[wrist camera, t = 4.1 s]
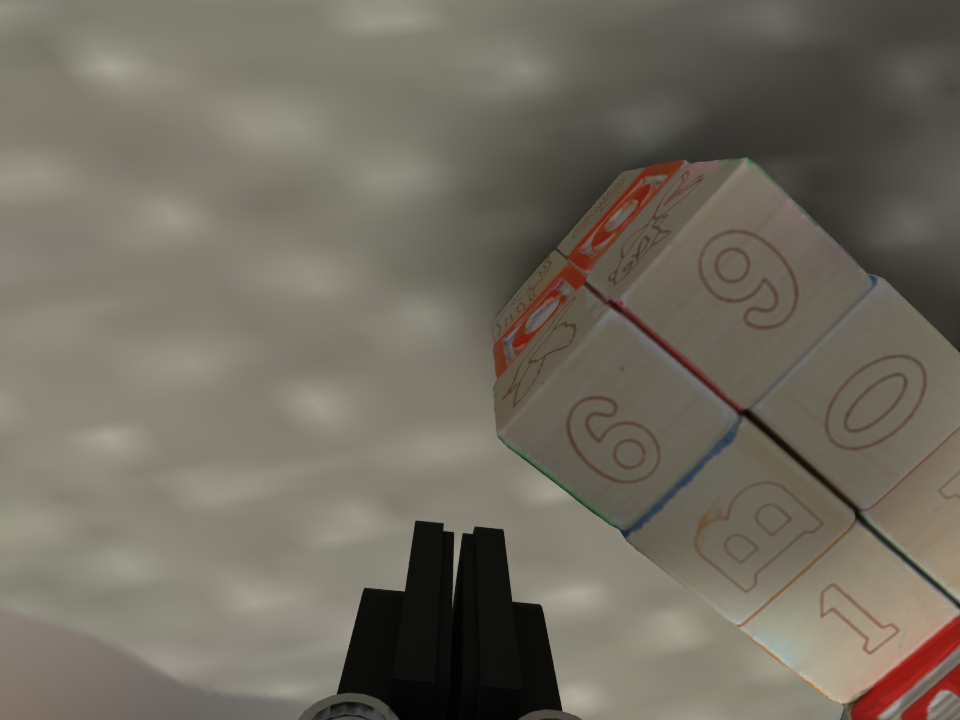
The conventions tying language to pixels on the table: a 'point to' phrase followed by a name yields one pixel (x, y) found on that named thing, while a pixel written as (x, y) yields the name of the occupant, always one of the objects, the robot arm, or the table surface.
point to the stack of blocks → (752, 425)
